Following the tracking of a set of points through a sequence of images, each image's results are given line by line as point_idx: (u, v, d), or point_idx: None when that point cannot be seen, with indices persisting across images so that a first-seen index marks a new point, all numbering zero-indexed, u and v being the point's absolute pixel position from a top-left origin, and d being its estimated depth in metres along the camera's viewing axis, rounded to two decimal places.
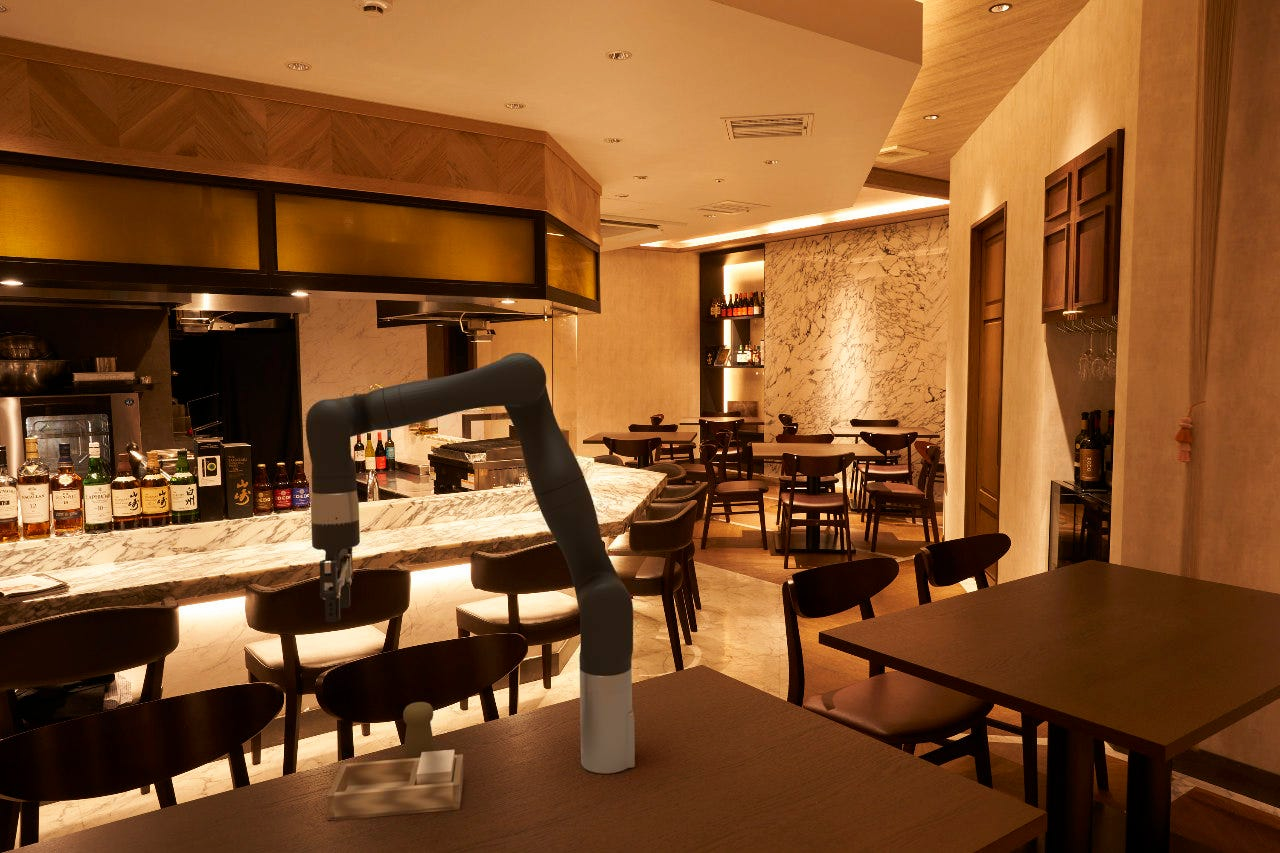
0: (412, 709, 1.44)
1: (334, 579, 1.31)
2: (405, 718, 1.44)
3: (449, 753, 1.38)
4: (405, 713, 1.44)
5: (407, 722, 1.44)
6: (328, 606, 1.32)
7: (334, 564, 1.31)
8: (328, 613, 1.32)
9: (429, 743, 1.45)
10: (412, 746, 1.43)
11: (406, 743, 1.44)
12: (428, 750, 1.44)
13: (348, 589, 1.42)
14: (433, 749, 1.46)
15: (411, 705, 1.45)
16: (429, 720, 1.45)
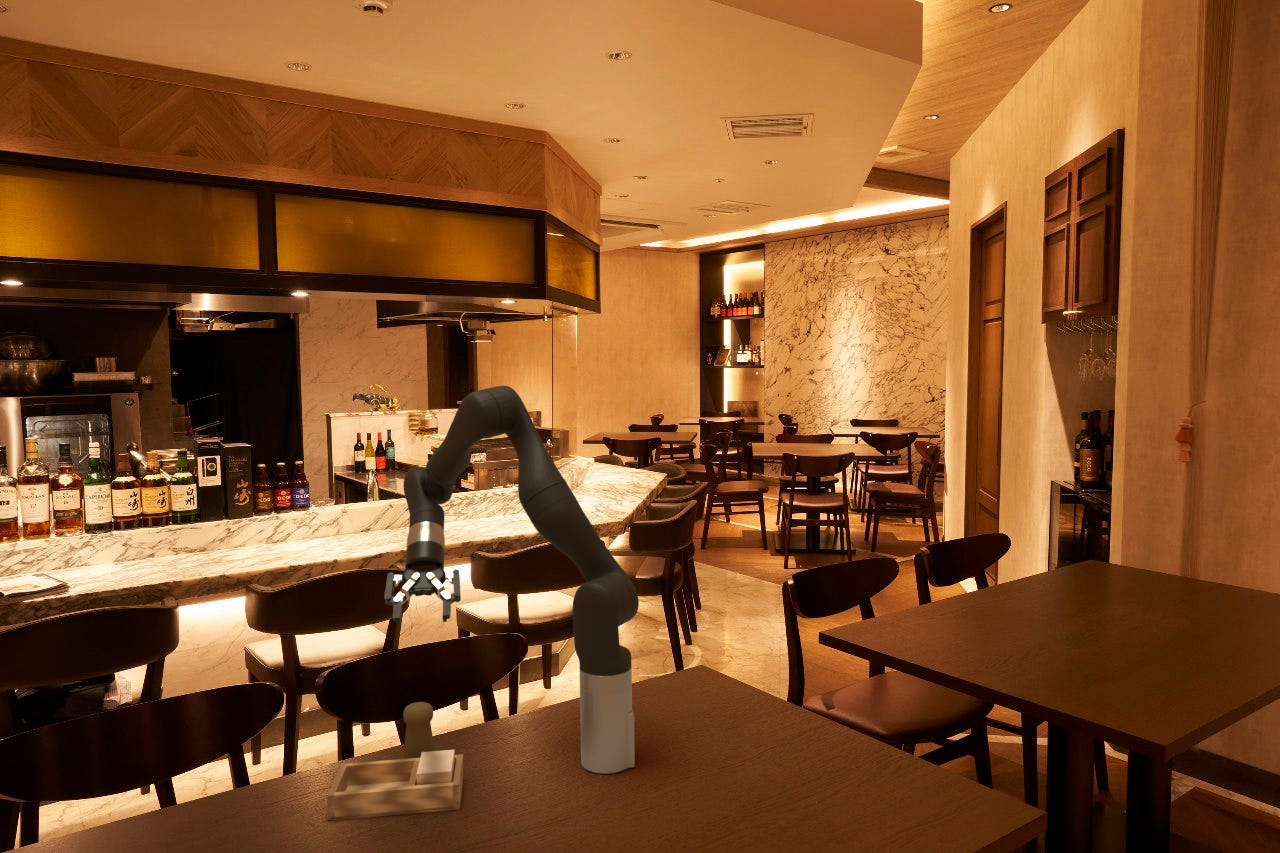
0: (412, 709, 1.44)
1: (386, 586, 1.59)
2: (405, 718, 1.44)
3: (449, 753, 1.38)
4: (405, 713, 1.44)
5: (407, 722, 1.44)
6: None
7: None
8: None
9: (429, 743, 1.45)
10: (412, 746, 1.43)
11: (406, 743, 1.44)
12: (428, 750, 1.44)
13: (443, 602, 1.58)
14: (433, 749, 1.46)
15: (411, 705, 1.45)
16: (429, 720, 1.45)
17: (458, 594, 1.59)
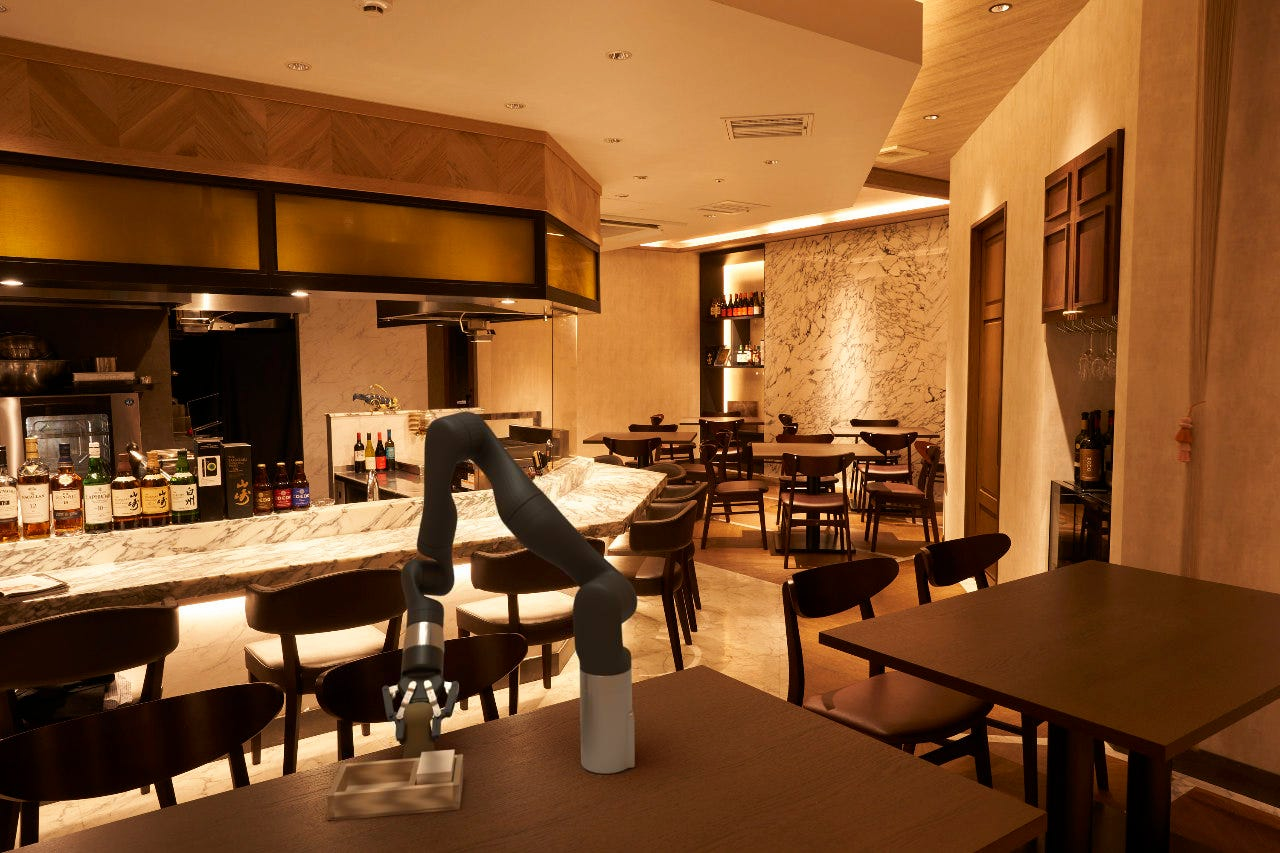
0: (412, 709, 1.44)
1: (384, 702, 1.47)
2: (405, 718, 1.44)
3: (449, 753, 1.38)
4: (405, 713, 1.44)
5: (407, 722, 1.44)
6: None
7: (382, 689, 1.48)
8: None
9: (429, 743, 1.45)
10: (412, 746, 1.43)
11: (406, 743, 1.44)
12: (428, 750, 1.44)
13: (432, 720, 1.46)
14: (433, 749, 1.46)
15: (411, 705, 1.45)
16: (429, 720, 1.45)
17: (449, 710, 1.47)
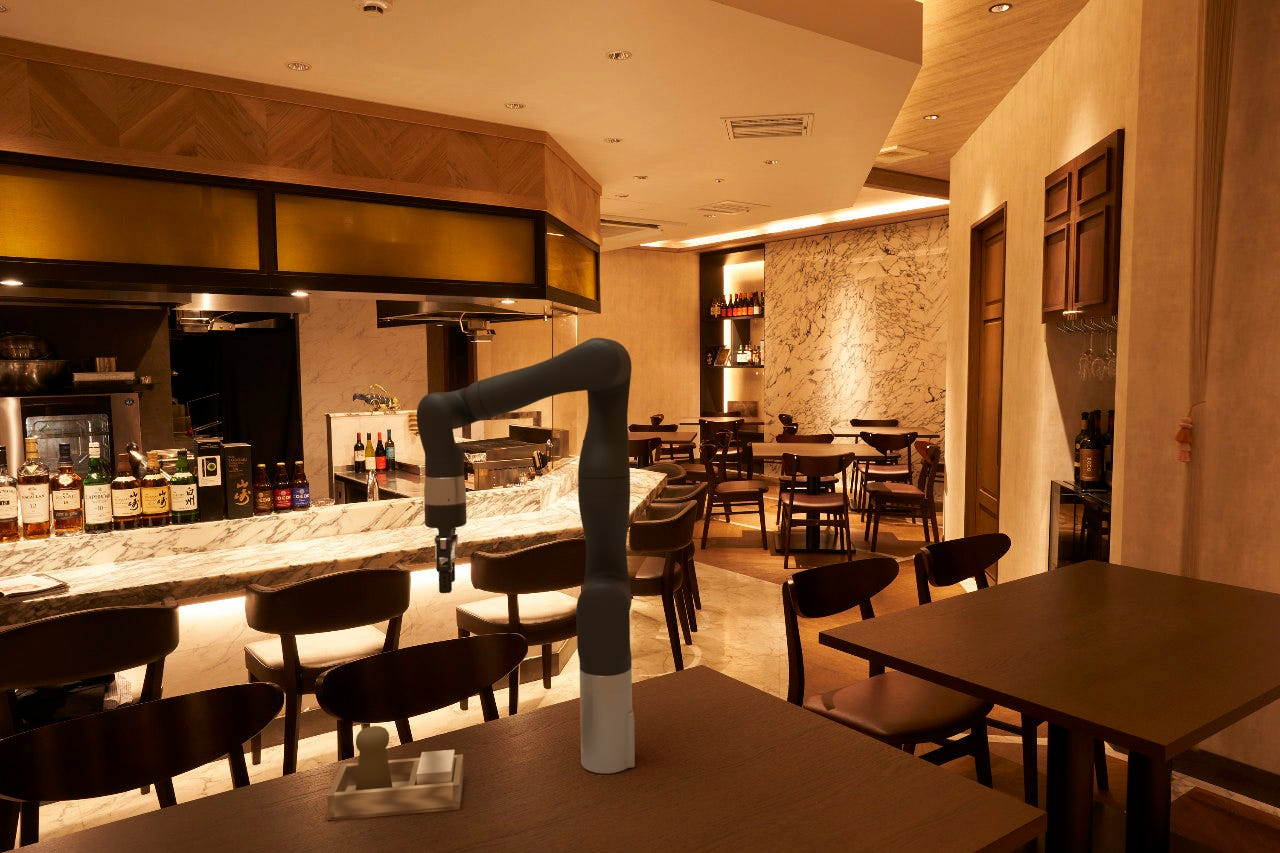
0: (365, 735, 1.32)
1: (449, 554, 1.45)
2: (357, 744, 1.32)
3: (449, 753, 1.38)
4: (357, 739, 1.32)
5: (359, 749, 1.32)
6: (442, 579, 1.47)
7: (449, 541, 1.45)
8: (442, 585, 1.47)
9: (384, 772, 1.33)
10: (365, 775, 1.32)
11: (359, 771, 1.32)
12: (383, 779, 1.32)
13: (453, 565, 1.56)
14: (389, 778, 1.34)
15: (365, 730, 1.33)
16: (384, 747, 1.33)
17: None
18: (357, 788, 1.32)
